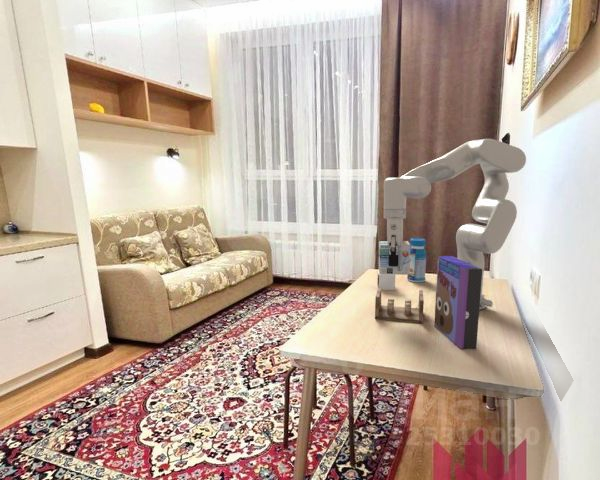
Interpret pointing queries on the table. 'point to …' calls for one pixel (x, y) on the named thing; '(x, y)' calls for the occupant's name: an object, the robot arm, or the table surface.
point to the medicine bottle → (386, 281)
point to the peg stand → (399, 310)
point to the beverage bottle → (417, 260)
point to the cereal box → (458, 301)
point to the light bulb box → (403, 259)
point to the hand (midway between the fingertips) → (394, 262)
